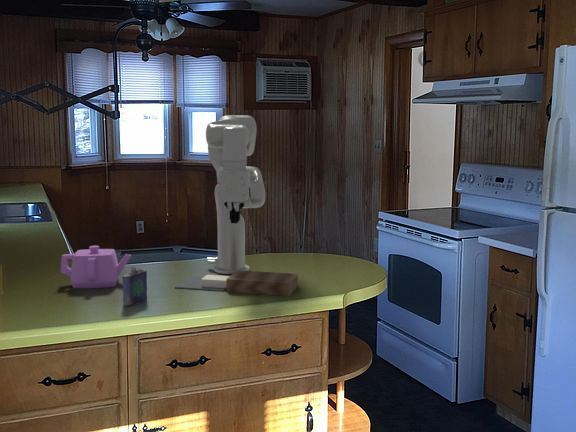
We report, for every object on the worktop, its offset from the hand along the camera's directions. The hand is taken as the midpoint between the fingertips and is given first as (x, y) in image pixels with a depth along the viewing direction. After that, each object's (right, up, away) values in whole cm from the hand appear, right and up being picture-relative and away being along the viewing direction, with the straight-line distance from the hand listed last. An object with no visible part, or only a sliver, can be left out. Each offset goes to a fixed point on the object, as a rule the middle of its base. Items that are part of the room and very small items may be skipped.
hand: (234, 222), depth 213 cm
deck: (+9, -21, -4) cm, 23 cm away
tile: (-5, -20, -1) cm, 21 cm away
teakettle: (-45, -20, +2) cm, 49 cm away
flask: (-27, -23, -20) cm, 41 cm away
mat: (-9, -20, +1) cm, 22 cm away
